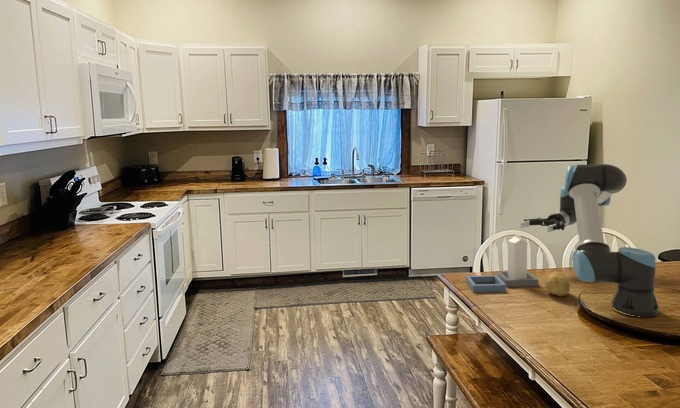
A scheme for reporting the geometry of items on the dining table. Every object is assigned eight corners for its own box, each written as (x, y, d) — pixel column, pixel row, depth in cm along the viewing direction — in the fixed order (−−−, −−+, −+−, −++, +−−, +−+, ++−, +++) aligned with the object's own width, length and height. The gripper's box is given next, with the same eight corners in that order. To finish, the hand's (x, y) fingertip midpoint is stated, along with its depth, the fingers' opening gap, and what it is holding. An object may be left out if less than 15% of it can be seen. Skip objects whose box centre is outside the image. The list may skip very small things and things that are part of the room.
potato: (540, 297, 197) (540, 275, 196) (549, 287, 208) (550, 266, 207) (566, 301, 191) (567, 278, 189) (574, 291, 202) (575, 269, 201)
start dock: (538, 286, 211) (538, 279, 210) (506, 287, 211) (506, 280, 211) (527, 276, 224) (527, 270, 224) (497, 277, 225) (497, 271, 225)
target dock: (505, 291, 205) (505, 284, 205) (473, 292, 206) (472, 285, 206) (496, 281, 219) (496, 275, 219) (465, 282, 220) (465, 276, 219)
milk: (519, 279, 221) (520, 232, 218) (526, 283, 215) (527, 235, 212) (507, 280, 220) (508, 233, 217) (514, 284, 214) (515, 236, 211)
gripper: (583, 231, 227) (560, 239, 214) (534, 224, 247) (510, 231, 234) (583, 215, 226) (560, 222, 213) (534, 210, 246) (510, 216, 233)
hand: (534, 227), depth 224 cm, fingers open, 13 cm apart
